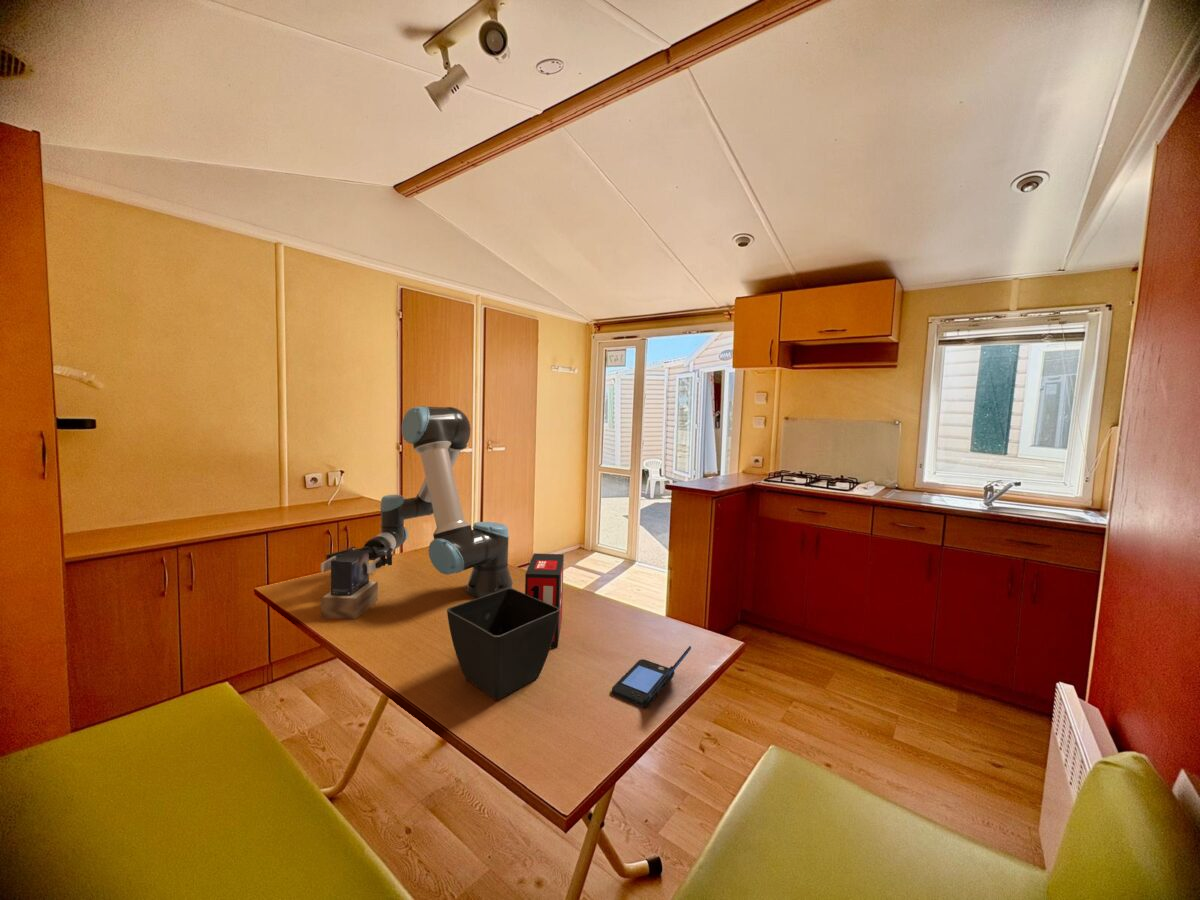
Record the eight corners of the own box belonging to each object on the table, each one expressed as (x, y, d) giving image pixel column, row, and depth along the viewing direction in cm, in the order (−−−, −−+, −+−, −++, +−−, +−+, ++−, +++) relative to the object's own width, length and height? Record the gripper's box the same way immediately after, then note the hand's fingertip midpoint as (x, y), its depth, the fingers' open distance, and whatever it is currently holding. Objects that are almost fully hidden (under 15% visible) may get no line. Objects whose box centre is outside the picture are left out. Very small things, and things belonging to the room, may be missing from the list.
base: (377, 600, 145) (377, 581, 145) (356, 619, 132) (355, 598, 132) (346, 599, 145) (346, 579, 145) (321, 617, 132) (321, 597, 132)
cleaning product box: (532, 618, 137) (533, 553, 135) (561, 618, 137) (563, 554, 135) (523, 647, 121) (525, 573, 119) (557, 647, 121) (559, 574, 119)
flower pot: (508, 647, 120) (509, 585, 119) (560, 676, 108) (562, 607, 107) (444, 678, 106) (444, 608, 104) (495, 715, 94) (496, 637, 92)
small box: (352, 596, 133) (351, 561, 132) (329, 595, 133) (328, 560, 132) (370, 582, 143) (370, 549, 142) (349, 581, 143) (349, 549, 142)
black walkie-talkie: (640, 663, 115) (642, 628, 115) (690, 681, 108) (693, 644, 108) (609, 695, 102) (610, 655, 101) (664, 718, 95) (666, 676, 94)
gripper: (416, 558, 156) (388, 582, 135) (343, 556, 156) (303, 579, 135) (416, 537, 156) (387, 557, 134) (342, 534, 155) (302, 554, 134)
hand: (345, 568), depth 135 cm, fingers open, 13 cm apart
